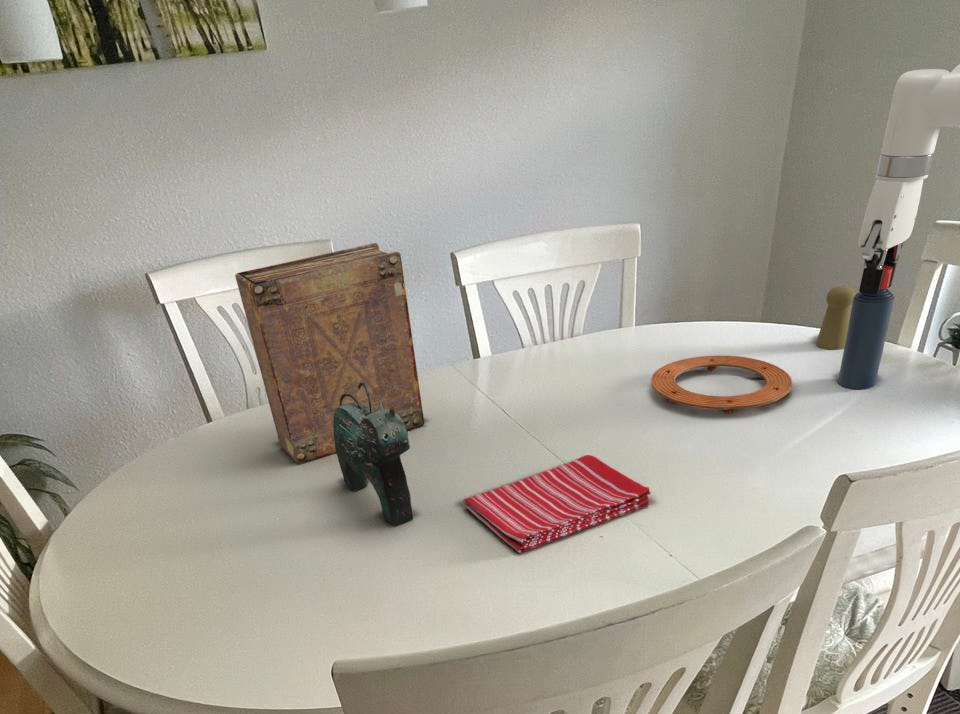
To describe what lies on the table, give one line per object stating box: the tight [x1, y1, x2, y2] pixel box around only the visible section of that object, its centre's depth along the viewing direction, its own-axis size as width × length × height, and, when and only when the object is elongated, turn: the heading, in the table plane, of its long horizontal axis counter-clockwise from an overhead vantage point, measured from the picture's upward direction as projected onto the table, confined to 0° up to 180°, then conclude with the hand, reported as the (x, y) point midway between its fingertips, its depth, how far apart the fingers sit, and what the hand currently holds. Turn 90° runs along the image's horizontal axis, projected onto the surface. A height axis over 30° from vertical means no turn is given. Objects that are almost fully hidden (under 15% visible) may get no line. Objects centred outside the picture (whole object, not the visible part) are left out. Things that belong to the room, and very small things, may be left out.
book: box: [234, 242, 425, 465], centre depth 135 cm, size 25×9×30 cm, turn 120°
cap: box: [880, 265, 893, 290], centre depth 133 cm, size 4×4×3 cm
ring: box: [650, 355, 793, 414], centre depth 146 cm, size 25×25×2 cm
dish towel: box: [462, 454, 651, 554], centre depth 117 cm, size 17×24×3 cm
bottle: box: [837, 288, 895, 390], centre depth 138 cm, size 6×6×19 cm
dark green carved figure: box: [333, 382, 414, 527], centre depth 117 cm, size 20×6×20 cm, turn 33°
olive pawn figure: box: [815, 285, 856, 350], centre depth 156 cm, size 6×6×11 cm
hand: (874, 288), depth 134 cm, fingers closed on cap, 3 cm apart
